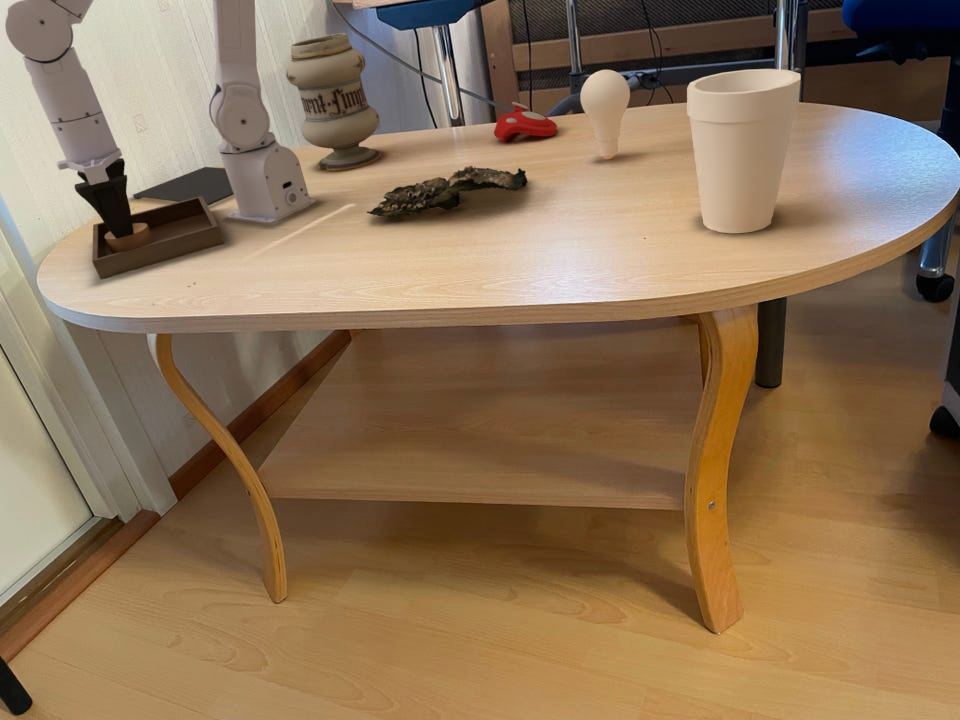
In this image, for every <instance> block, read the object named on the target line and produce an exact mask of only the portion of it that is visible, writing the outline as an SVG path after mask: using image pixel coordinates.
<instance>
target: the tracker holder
mask: <svg viewBox="0 0 960 720" xmlns="http://www.w3.org/2000/svg"><path fill="white" fill-rule="evenodd" d="M511 104H512V107H513V111H512V112H507V113H505V114H502V115H501V116H499V117H498V119H497V122H496V125H495V128H494V130H493V136H494V137H495V138H497V139H498V140H500V141H501V142H506V141H508V140H509V139H511V138H512V137H513V136H515V135H516V134H519V133H520V134H526V135H531V136H537V137H551V136H554V135H555V134H556V133H557V132H558V131H557V130H558V124H557V123H556V122H555V121H554V120H551V119H550V118H549V117H548V116H546V115H544V114H542V113H540V112H536V111H533V110H532V111H531V109H530V107H529V106H528V105H524V104H522V103H518V102H516V101H512V102H511Z"/></svg>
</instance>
